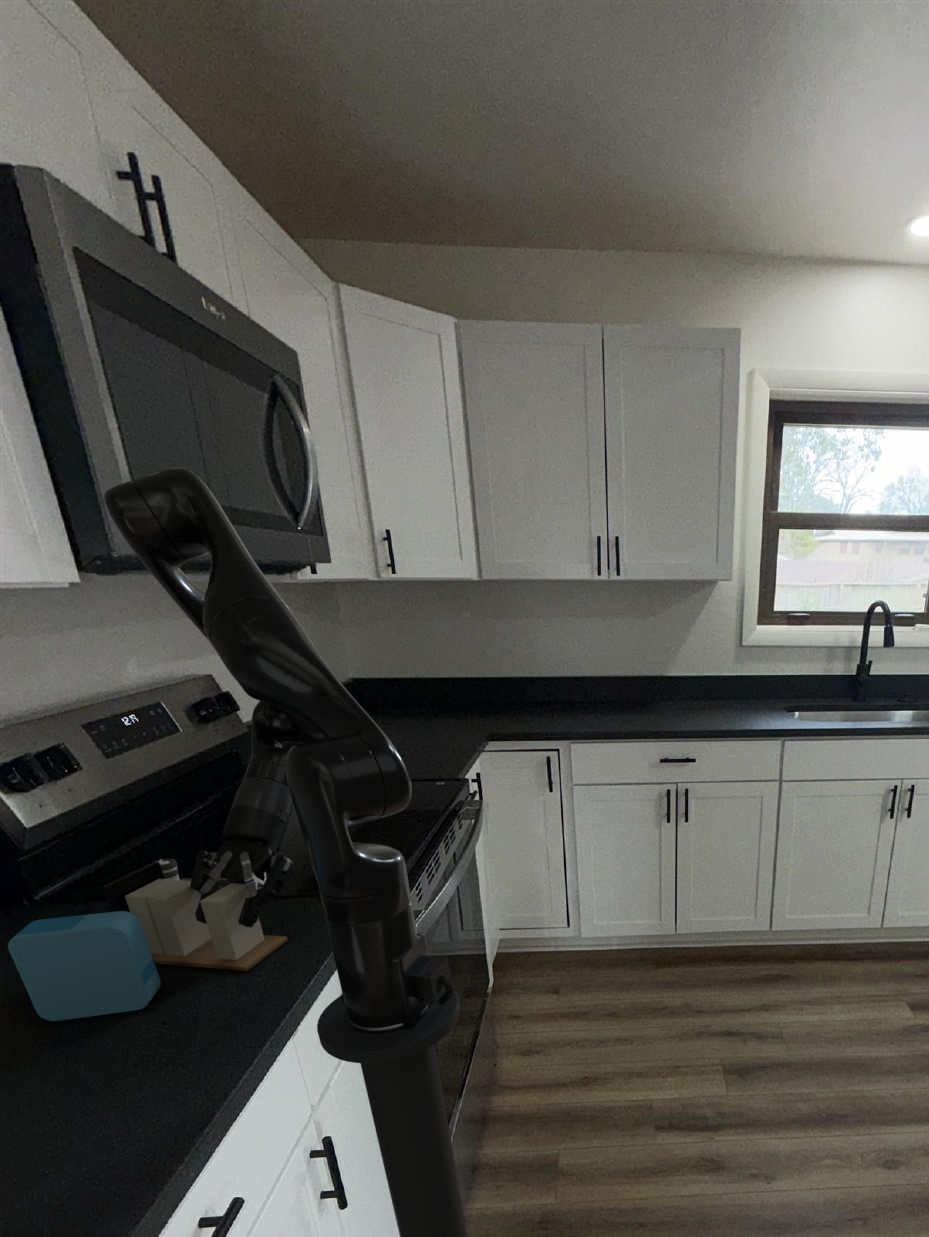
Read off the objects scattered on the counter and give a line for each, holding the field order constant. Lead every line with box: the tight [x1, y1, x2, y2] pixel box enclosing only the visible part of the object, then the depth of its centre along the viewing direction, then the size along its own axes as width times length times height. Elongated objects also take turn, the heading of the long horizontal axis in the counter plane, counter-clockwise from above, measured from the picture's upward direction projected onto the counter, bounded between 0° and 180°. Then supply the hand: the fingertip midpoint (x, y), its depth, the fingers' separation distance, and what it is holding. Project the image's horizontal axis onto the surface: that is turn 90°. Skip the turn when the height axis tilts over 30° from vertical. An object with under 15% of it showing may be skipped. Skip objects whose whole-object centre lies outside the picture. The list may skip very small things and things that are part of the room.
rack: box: [101, 861, 289, 972], centre depth 101 cm, size 18×9×12 cm, turn 81°
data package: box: [7, 911, 162, 1022], centre depth 88 cm, size 12×4×12 cm, turn 105°
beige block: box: [200, 883, 265, 960], centre depth 101 cm, size 3×6×9 cm, turn 171°
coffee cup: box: [154, 858, 192, 881], centre depth 123 cm, size 12×12×5 cm
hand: (224, 923), depth 99 cm, fingers open, 6 cm apart
